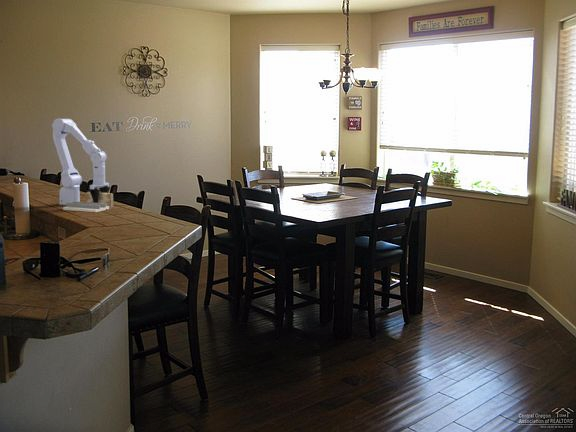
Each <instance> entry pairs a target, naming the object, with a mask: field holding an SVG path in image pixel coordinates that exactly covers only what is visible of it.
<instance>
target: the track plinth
mask: <svg viewBox="0 0 576 432" xmlns="http://www.w3.org/2000/svg"><path fill="white" fill-rule="evenodd" d="M106 209H107V210H109V209H110V207H109V206H106V204H104V203H90V202H87V201H80V202H76V201H73V203H66V205H65V206H64V207H62V210H63V211H71V212H72V211H74V212H75V211H76V212H86V213H99V212H103V211H106Z"/></svg>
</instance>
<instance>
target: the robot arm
mask: <svg viewBox="0 0 576 432" xmlns="http://www.w3.org/2000/svg"><path fill="white" fill-rule="evenodd" d="M51 128H52V139H53V143H54V146H55V149H56V152H57V156H58V159H59V162H60V165H61V168H62V171H61V173H60V177H61V181H60V182H61V184H62V187H61V188H60V189H59V203H58V205H61V206H63V205H64V206H67V205H66V203H73V201H76V202H81V201H80V200H81V198H80V197H81V195H80V186H81V184H82V183H83V178H82V176H81V175H80V173H79V170H77V168H75V166H74V164H73V161H72V157H71V154H70V151H69V148H68V145H67V141H66V137H67V135H69V134H71V135H72V136H73V137H75V139H76V140H78V142H79V143H81V144H82V145H81V147H82V149H83V150H84V151H85V152H86V154H88V156H89V158H90V161H91V162H92V169H93V170H92V171H93V173H92V174H93V183H92V184H90V185H89V188H88V192H90V193H91V196H92V199H93V202H94V203H98V198H99V193H110V190H111V187H110V182H106V161H107V159H108V155H107V153H106V151H103V150H101V148H99V147H98V146H97V145H96V144H95V141H94V140H91V139H87V137H86V136H85V135H84V134H83V132H82V131H81V130H80V129H79V127H78V126H77V123H75V122H74V120H73V119H71V118H59V117H58V118H56V119H54V120H53V122H52V124H51Z"/></svg>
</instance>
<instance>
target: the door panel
mask: <svg viewBox="0 0 576 432" xmlns="http://www.w3.org/2000/svg"><path fill="white" fill-rule="evenodd" d="M85 198H86V201H85V202H90V203H94V202H93V199H92V196H91V193H90V192H89V191H86V197H85ZM98 203H104V204H106V206H109V208H113V207H114V193H112V192H111V193H110V192H108V193H101V192H99V198H98Z"/></svg>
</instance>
